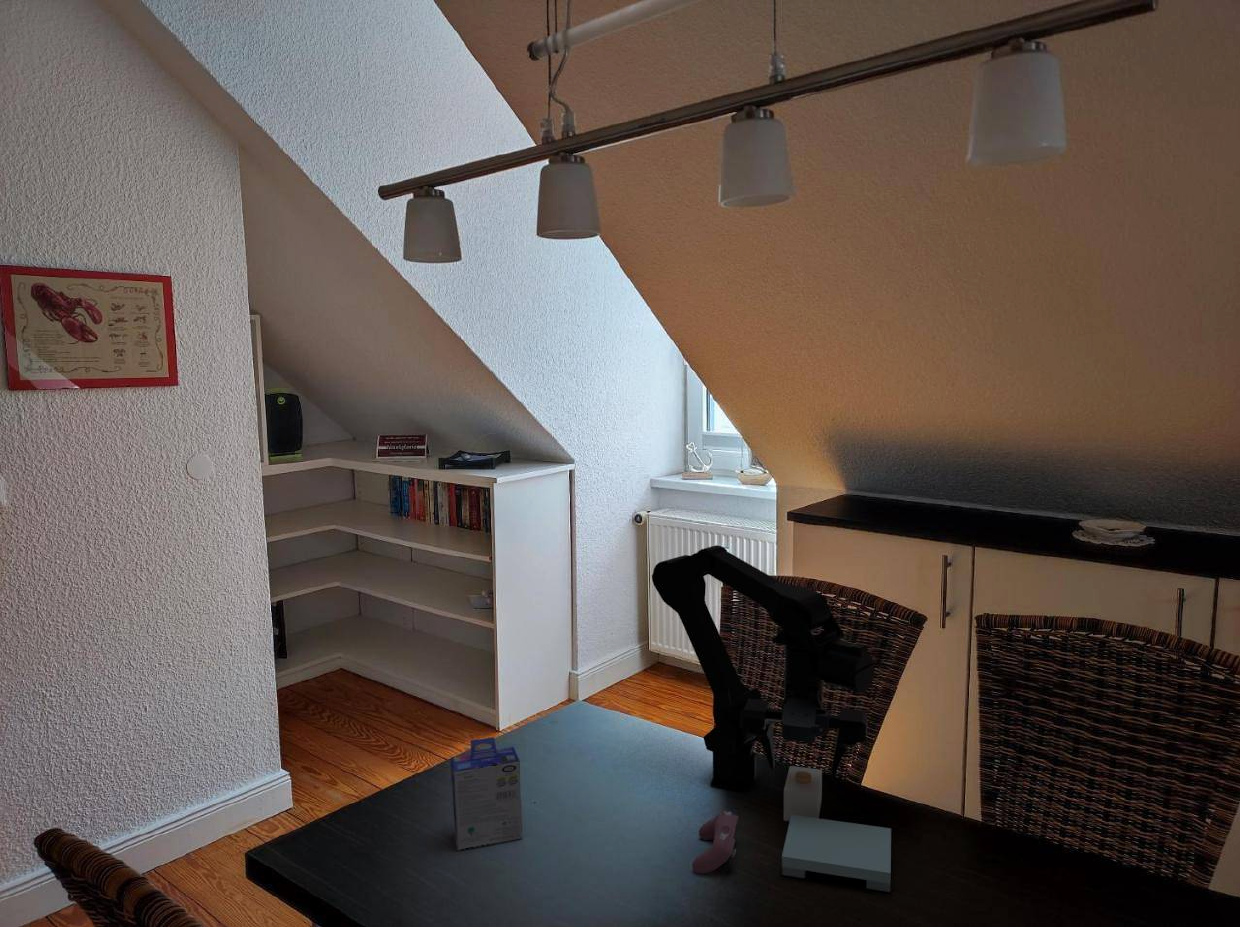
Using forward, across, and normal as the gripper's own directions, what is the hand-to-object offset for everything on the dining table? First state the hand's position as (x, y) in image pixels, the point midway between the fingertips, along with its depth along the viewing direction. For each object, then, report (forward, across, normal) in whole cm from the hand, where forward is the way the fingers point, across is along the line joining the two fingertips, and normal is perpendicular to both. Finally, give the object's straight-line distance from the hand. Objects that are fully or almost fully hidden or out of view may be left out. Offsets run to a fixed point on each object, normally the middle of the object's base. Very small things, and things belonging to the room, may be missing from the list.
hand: (802, 772), depth 134 cm
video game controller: (+6, -10, -16) cm, 20 cm away
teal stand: (+6, +6, -13) cm, 16 cm away
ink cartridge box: (+6, -44, -20) cm, 49 cm away
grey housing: (+6, 0, 0) cm, 6 cm away
